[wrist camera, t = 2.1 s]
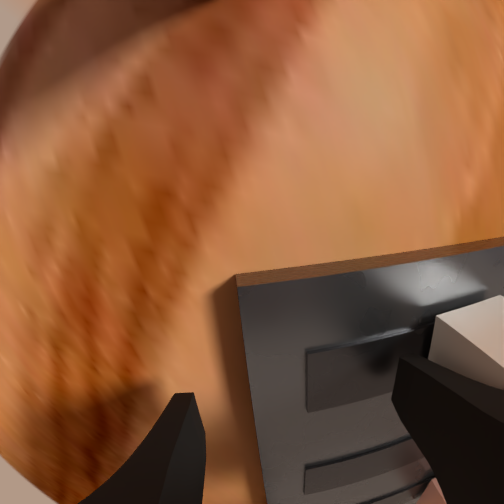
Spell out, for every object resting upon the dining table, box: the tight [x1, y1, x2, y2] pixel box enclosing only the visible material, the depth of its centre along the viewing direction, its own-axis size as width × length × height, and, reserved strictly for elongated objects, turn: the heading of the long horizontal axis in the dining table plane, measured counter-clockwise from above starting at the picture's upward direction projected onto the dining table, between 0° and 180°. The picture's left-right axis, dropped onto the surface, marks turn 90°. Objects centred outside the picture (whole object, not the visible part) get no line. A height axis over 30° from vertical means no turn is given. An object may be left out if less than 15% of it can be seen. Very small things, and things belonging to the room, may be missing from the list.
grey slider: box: [428, 295, 504, 390], centre depth 8 cm, size 4×4×4 cm
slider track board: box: [236, 237, 504, 504], centre depth 13 cm, size 20×22×1 cm
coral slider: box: [416, 478, 447, 504], centre depth 12 cm, size 4×4×4 cm
